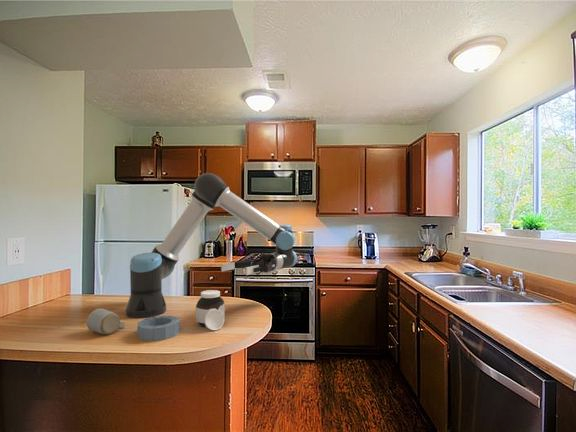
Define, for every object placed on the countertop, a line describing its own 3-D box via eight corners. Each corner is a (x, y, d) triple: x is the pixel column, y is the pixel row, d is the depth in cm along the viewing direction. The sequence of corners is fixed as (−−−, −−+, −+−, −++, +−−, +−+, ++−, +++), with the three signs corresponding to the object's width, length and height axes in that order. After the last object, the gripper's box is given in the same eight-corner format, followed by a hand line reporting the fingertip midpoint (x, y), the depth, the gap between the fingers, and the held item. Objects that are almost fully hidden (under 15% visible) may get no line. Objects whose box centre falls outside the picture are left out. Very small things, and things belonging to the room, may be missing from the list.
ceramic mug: (101, 338, 107) (101, 314, 107) (86, 334, 111) (86, 311, 111) (130, 328, 117) (130, 306, 117) (115, 325, 120) (115, 303, 120)
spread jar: (212, 318, 127) (212, 288, 127) (235, 323, 121) (235, 291, 121) (188, 328, 117) (188, 294, 117) (212, 333, 111) (212, 299, 111)
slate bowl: (130, 334, 110) (130, 322, 110) (165, 324, 120) (165, 313, 120) (151, 344, 102) (151, 331, 102) (187, 332, 112) (187, 320, 112)
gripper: (293, 274, 136) (257, 283, 119) (249, 268, 151) (212, 275, 134) (293, 255, 136) (257, 262, 119) (249, 251, 151) (212, 257, 134)
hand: (233, 269), depth 126 cm, fingers open, 13 cm apart
